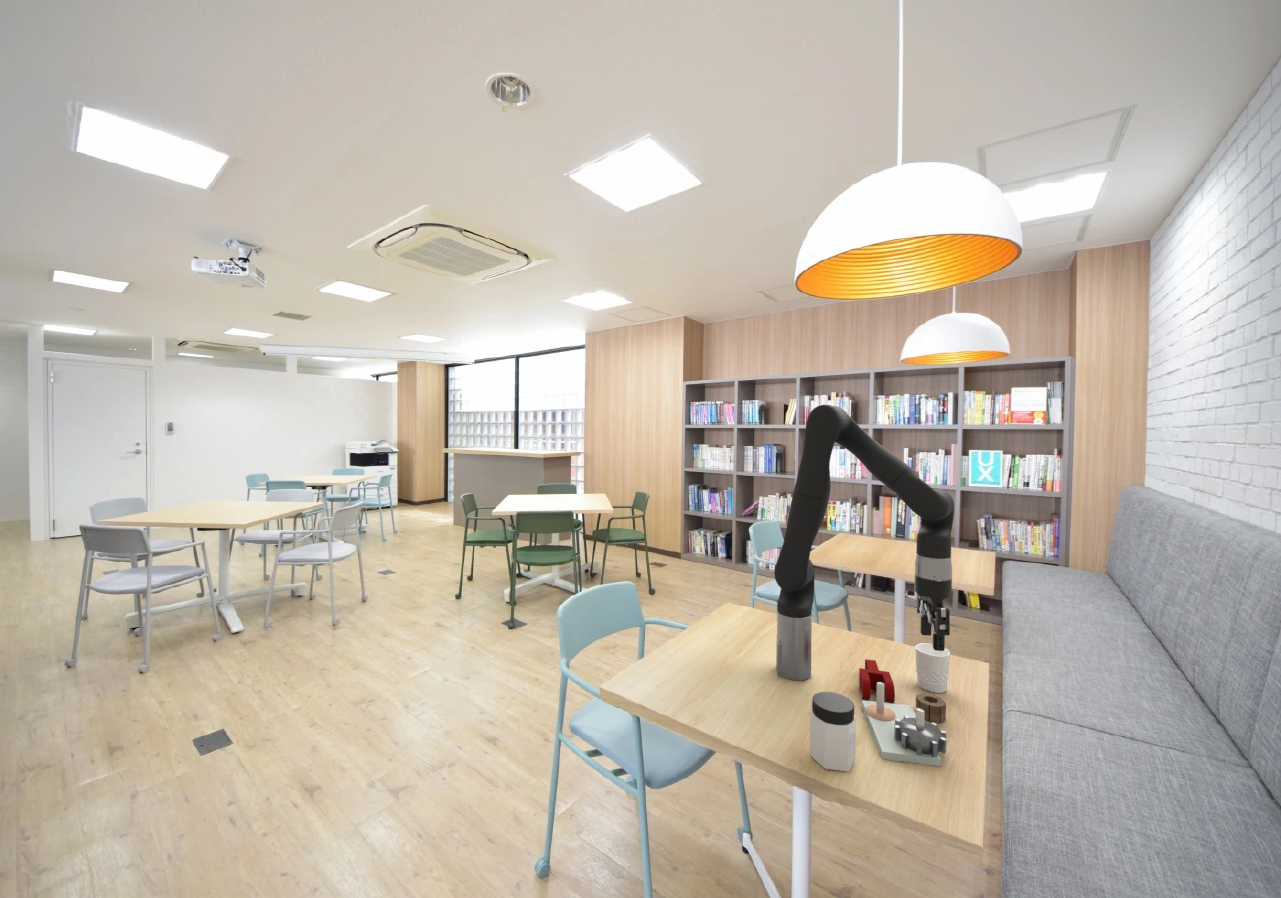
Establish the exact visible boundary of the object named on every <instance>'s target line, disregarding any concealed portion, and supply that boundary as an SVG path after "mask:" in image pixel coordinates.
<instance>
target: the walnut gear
mask: <svg viewBox="0 0 1281 898" xmlns="http://www.w3.org/2000/svg"><path fill="white" fill-rule="evenodd" d="M916 708H921V709H923V710H924V711H925V718H924V720H925V721H928V722H930V723H936V724H942V723H944V722H946V720H947V719H946V718H947V702H946V701H945V700H944V698H942V697H940V696H938V695H937V694H934V693H933V694H932V693H931V692H930V693H928V692H919V693H918V694H916V695H915V709H916Z"/></svg>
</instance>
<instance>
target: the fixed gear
mask: <svg viewBox="0 0 1281 898" xmlns="http://www.w3.org/2000/svg"><path fill="white" fill-rule="evenodd" d="M915 714H916V718H910V717H908V716H904V719H901V720H900V719H897V718H896V719H895V725H894V738H895V740H899V741H900V742H901V743H902V746H901V747H903V748H904V749H907V748H909V749H911V750H913V751H915V752H916V754H918V755H921V756H922V754H929V755H932V756H933V757H937V754H939V753H941V754H943V755H945V754H946V753H947V731H946V730H944V729H943V730H941V729H940V728H939V725H938V723H930V721H929V722H928V721H925V720H924V718H925V711H924V710H923V709H921V708H916V707H915Z"/></svg>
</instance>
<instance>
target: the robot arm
mask: <svg viewBox="0 0 1281 898" xmlns="http://www.w3.org/2000/svg"><path fill="white" fill-rule="evenodd" d="M805 424H806V425H805V431H804V441H803V448H802V449H803V450H802V454H801V455H802V456H801V459H800V462H799V466H798V471H797V476H796V481H795V484H794V488H793V491H792V492H793V493H792V497H791V501H790V508H789V510H788V511H789V513H788V515H787V517H788V518H787V522H786V528H785V529H786V530H785V535H784V539H783V544H782V545H781V546H782V547H781V549H780V552H779V555H778V558H777V561H776V563H775V567H774V570H773V571H774V573H773V575H774V579H775V582H776V584H777V585H778V587H779V588H780V590H779V591H780V592H779V596H778V599H777V603H776V606H777V607H776V622H777V623H776V637H775V638H776V644H775V645H776V646H775V647H776V649H775V650H776V652H775V653H776V655H775V656H776V657H775V658H776V661H775V664H776V665H775V666H776V675H777V676H778V677H781V678H785V679H787V680H791V681H805V680H808V679H810V678H811V677H812V637H813V636H812V635H813V633H812V625H813V624H812V623H813V621H812V618H813V615H812V614H813V613H812V611H813V604H814V597H815V578H816V577H815V568H814V564H813V562H812V561H811V559H810V558H811V557H810V556H811V551H812V546H813V544H814V541H815V539H816V537H817V535H818V532H819V530H820V528H821V525H822V524H823V521H824V519H825V516H826V512H827V509H828V505H829V500H830V496H831V470H830V468H831V467H830V463H831V456H832V453H833V448H834V445H835V443H837V444H838V445H839V446H841V447H843V448H845V449H846V450H847V451H848V452H850V453H851V454H852V455H854V456H855V458H856V459H858V460H859V461H860V462H861V464H862V465H863V466H864V467H865V468H866V469H867V470H868V472H869V473H871V475H872V476H874V478H876V479H877V480H878V481H879V482H881V483H882V484H883V485H885V486H886V487H887V488H888V489H889V490H890V491H892V492H894V493H895V494H896V495H897V496H898V497H899V498H900V499H901V500H902V502H904V504H906V506H907V507H909V509H910V510H911V511H912V512H913V513H914V514H916V515H917V516H918V517H920V528H919V530H918V532H917V536H916V552H915V553H916V554H915V561H914V591H915V593H916V594H917V599H916V602H917V603H916V612H917V614H918V616H919V619H920V631H919V632H920V634H921V635H922V636H928V637H929V636H932V644H933V649H934V650H936V651H944V649H945V648H946V647H945V646H946V645H945V644H946V643H945V642H946V641H945V637H946V636H950V634H951V631H950V629H951V628H950V626H951V625H950V622H951V621H950V619H951V618H950V613H951V612H950V609H949V608H947V607H945V604H944V600H945V599H949V598H951V597H952V595H953V594H952V593H953V591H952V590H953V585H952V584H953V564H952V529H953V524H954V517H955V516H954V515H955V502H954V499H953V496H951V494H950V493H949V492H948V491H946V490H945V489H941V488H932V486H930V485H929V484H927V482H925V481H924V480H923V479H921V478H920V475H919V473H918V472H917V471H916V470H915V469H914V468H912V467H911V466H909V465H908V464H907V463H906V462H904V461H903V460H902V459H900V458H899V457H897V456H896V454H894V453H892V452H891V451H889V450H888V449H887V448H886V447H884V446H882V445H881V444H880V443H879V442H877V441H876V440H875V439H874V438H872V436H870V435H869V434H868V433H867V432H866V431H865V430H864V429H863V428H862V427H860V425H859V424H858V423H857V422H856V420H854V419H853V418H852V417H851V416H850V415H849V414H848V412H847V411H846V410H844V409H843V408H841V407H839V406H837V405H831V404H819V405H817V406H816V407H814V408H813V409H812V410H811V411H810V412H809V414H808V416H807V419H806V423H805Z"/></svg>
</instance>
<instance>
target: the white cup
mask: <svg viewBox="0 0 1281 898" xmlns="http://www.w3.org/2000/svg"><path fill="white" fill-rule="evenodd" d="M950 661H951V651H949V649H947V648H946V647H945V649H944V651H936V650H934V649H933V643H927V642H924V643H923V642H921V643H917V644H916V645H915V667H916V668H915V669H916V683H917V685H918V686H919V688H921V689H923V690H925V691H927V692H930V693H935V694H936V693H937V694H941V693H945V692H947V689H948V680H949V674H950V673H949V672H950Z"/></svg>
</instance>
